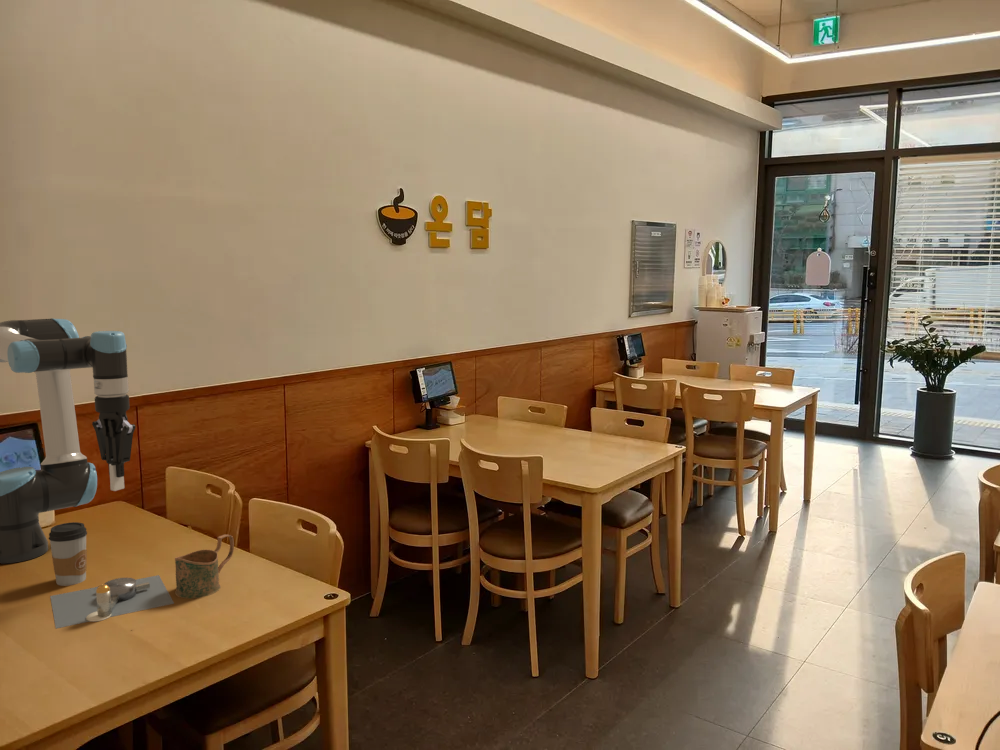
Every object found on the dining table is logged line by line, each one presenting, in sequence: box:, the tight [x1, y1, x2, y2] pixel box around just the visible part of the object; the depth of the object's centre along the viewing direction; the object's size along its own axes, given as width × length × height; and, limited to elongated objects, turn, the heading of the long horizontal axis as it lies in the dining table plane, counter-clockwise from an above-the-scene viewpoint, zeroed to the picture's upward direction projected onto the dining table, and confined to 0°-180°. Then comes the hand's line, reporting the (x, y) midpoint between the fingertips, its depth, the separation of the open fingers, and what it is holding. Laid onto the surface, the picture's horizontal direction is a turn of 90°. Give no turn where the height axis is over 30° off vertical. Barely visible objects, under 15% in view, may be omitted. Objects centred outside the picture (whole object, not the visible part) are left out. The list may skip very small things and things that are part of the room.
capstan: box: [96, 577, 150, 617], centre depth 180 cm, size 16×12×7 cm
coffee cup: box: [48, 522, 88, 587], centre depth 193 cm, size 8×8×15 cm
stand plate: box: [49, 574, 175, 629], centre depth 182 cm, size 21×24×2 cm
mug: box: [174, 534, 235, 599], centre depth 191 cm, size 12×18×12 cm, turn 155°
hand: (117, 489), depth 191 cm, fingers closed
